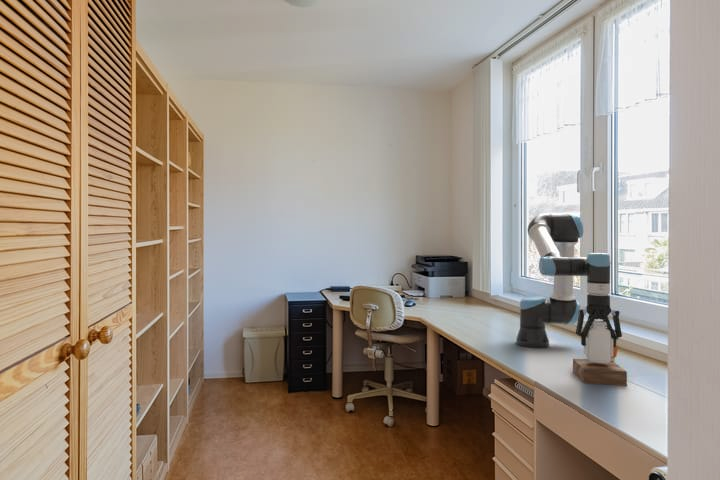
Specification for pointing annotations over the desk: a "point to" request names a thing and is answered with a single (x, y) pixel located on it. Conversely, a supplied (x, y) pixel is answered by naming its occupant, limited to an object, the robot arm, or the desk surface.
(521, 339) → the robot arm
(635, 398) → the desk surface
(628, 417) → the desk surface
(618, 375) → the walnut base
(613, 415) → the desk surface
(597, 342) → the pill bottle
